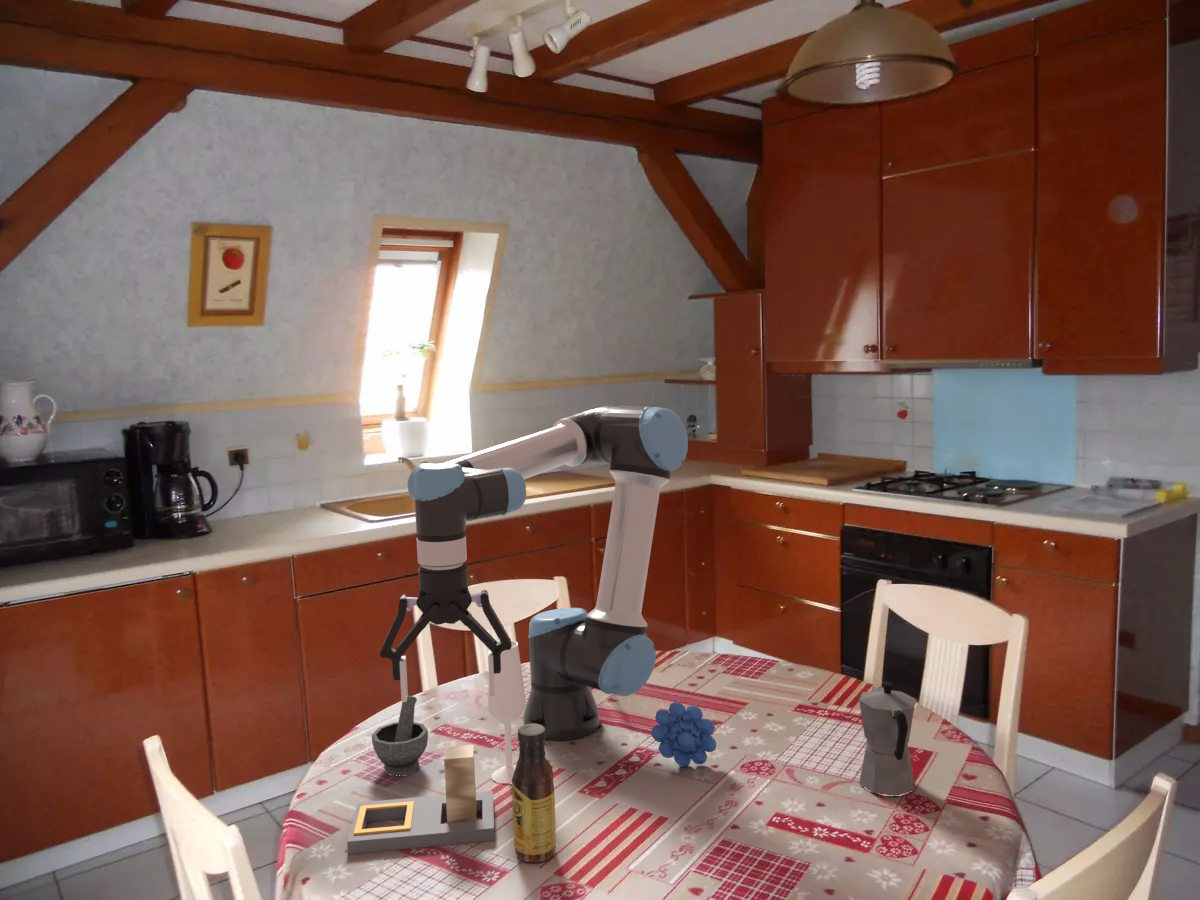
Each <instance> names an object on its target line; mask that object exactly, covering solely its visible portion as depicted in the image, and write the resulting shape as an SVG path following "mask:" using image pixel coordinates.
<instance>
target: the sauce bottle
mask: <svg viewBox="0 0 1200 900" xmlns="http://www.w3.org/2000/svg"><path fill="white" fill-rule="evenodd" d="M545 737H546V735H545V728H544V726H542V725H539V724H526V725H524V724H523V725H522V726H520V727H518V730H517V740H518V741H519V742H518V743H519V745H518V746H519V753H518V760H517V763H516V765H515V766H516V768H515V771H514V775H513V778H512V785H511V795H512V818H513V819H512V821H513V822H512V824H513V846H514V850H515V854H516V856H517V857H518V859H519V860H520V861H522V862H525V863H533V864H534V863H542V862H545V861H547V860H549V859H551V858H552V857H553V856H554V853H555V850H556V841H557V837H556V836H557V835H556V834H557V833H556V805H555V804H556V799H555V796H556V795H555V785H554V771H553V767H552V765H551V763H550V762H549V760H548V759H547V758H546V751H545V748H546V747H545V740H546V739H545Z"/></svg>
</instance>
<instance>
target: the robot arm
mask: <svg viewBox="0 0 1200 900" xmlns="http://www.w3.org/2000/svg"><path fill="white" fill-rule="evenodd" d="M688 439H689V438H688V434H687V430H686V427H685V425H684V423H683V421H682V419H681V417H680V416H679V415H678V413H676V412H675V411H673V410H671V409H669V408H666V407H665V408H664V407H659V406H653V405H648V406H646V405H645V406H643V405H642V406H641V405H639V406H638V405H616V404H615V405H614V404H613V405H612V404H611V405H604V406H598V407H595V408H592V409H588V410H585V411H582V412H578V413H575V414H573V415H570V416H566V417H564V418H561V419H559V420H557V421H555V423H554V424H553V425H552V427H551V428H550V427H549V428H547V429H544V430H540V431H538V432H535V433H532V434H529V435H526V436H525V435H524V436H523V437H519V438H517V439H514V440H509V441H507V442H504V443H501V444H497V445H494V446H492V447H489V448H486V449H483V450H479V451H477V452H473V453H470V454H467V455H464V456H461V457H458V458H454V459H451V460H448V461H444V462H442V463H437V462H425V463H420V464H418V465H416V466H415V467H414V468H413V469H412V470H411V472H410V473H409V476H408V479H407V491H408V494H409V496H410V498H411V500H412V501H413V502H414V511H415V512H414V513H415V527H416V550H417V551H416V553H417V563H418V564H419V565H420V566H419V567H418V569H417V573H418V574H417V575H418V590H419V591H418V595H417V596H415V597H413V596H412V597H410V596H408V595H407V594H402V595H401V596H400V597H399V601H398V607H397V608H398V610H397V614H396V615H395V617H394V620H393V622H392V624H391V627H390V629H389V631H388V633H387V635H386V637H385V640H384V642H383V644H382V647H381V649H380V651H379V656H380V658H382V659H385V658H386V659H389V660H390V661H391V664H392V678H393V680H394V681H400V697H401V698H400V699H401V700H400V701H401V703H402V702H407V697H408V696H409V695H408V694H409V691H408V689H409V688H408V670H407V669H408V667H407V655H404V654H405V653H406V652H407V650H408V649H409V647H411V645H412V644H413V643H414V642H415V640H416V639H417V638H418V637H419V635H420V634H421V633H422V631H423V630H425V628H426V627H427V626H428V625H429V623H432V624H434V625H435V626H437V625H438V626H439V625H443V624H449V625H453V624H454V625H455V624H456V623H457V622H461V623H462V624H463V625H464V626H465V627H467V628H468V629H469V631H470V632H471V633H473V635H475V636H476V637H477V638H478V640H480V642H481V643H483V644H484V646H486V648H487V649H488V650H487V658H488V659H487V660H488V662H487V663H488V687H489V690H490V696H495V694H494V674H496V673H500V671H501V658H500V655H501V653H502V652H503V651H505V650H510V649H511V646H512V645H511V640H512V639H511V637H510V636H509V634H508V632H507V631H506V629H505V627H504V625H503V624H502V622H501V620H500V618H499V617H498V615H497V613H496V612H495V609H494V608H493V606H492V604H491V602H490V596H489V592H488V590H485V589H483V590H481V591H480V592H478V593H470V589H469V579H468V578H469V576H468V565H467V564H466V563H465V562H466V561H467V558H468V556H467V550H468V549H467V533H466V532H467V530H466V529H467V522H471V521H476V520H481V519H487V518H493V517H498V516H505V515H508V514H511V513H514V512H517V511H519V510H520V509H521V508H522V507H523V505H524V504H525V503H526V499H527V485H526V482H525V480H526V479H529V478H532V477H535V476H537V475H540V474H543V473H545V472H549V471H552V470H554V469H556V468H559V467H563V466H567V467H571V468H573V467H574V468H575V467H577V466H580V465H583V464H606V465H607V464H609V474H610V475H611V476H612V478H613V480H614V481H615V485H614V491H613V492H614V493H613V497H612V504H611V508H610V509H611V510H610V514H609V515H610V517H609V523H608V529H607V536H606V540H605V541H606V542H605V548H604V555H603V561H602V568H601V574H600V580H599V585H598V594H597V598H596V599H597V600H596V605H595V607H594V609H592V610H591V611H589V612H588V611H587V610H586V609H584V608H581V607H564V608H556V609H550V610H546V611H542V612H539V613H537V614H536V615H535V614H534V616H533V617H531V619H530V622H529V624H528V625H529V626H528V627H529V628H528V650H529V655H528V656H529V667H530V669H529V672H530V673H529V674H530V691H529V695H528V698H527V700H526V707H525V709H524V711H523V716H522V717H523V718H522V719H523V720H522V721H523V725H526V724H539V725H542V726H544V728H545V735H546V737H545V740H548V741H567V740H575V739H579V738H583V737H585V736H588V735H589V734H591V733H594V732H596V730H597V729H598V728H599V726H600V713H599V712H600V711H599V708H598V706H597V702H596V700H595V698H594V693H593V691H592V689H591V688H593V689H595V690H598V691H601V692H602V693H604V694H608V695H614V696H619V697H628V696H632V695H634V694H635V693H638V692H639V691H640V690H641V689H642V688H643V686H644V685H645V684H647V682H648V680H649V679H650V678H651V675H652V673H653V671H654V668H655V665H656V658H657V651H656V648H655V645H654V642H653V641H652V639H650V637H648V636H647V629H648V623H647V621H646V620H645V619H644V617H643V615H642V609H643V603H644V597H645V596H644V595H645V590H646V583H647V578H648V570H649V565H650V557H651V551H652V544H653V537H654V531H655V525H656V518H657V512H658V505H659V500H660V493H661V489H662V488H663V487H664V486H665V485H667V484H668V483H669V482H670V480H671V474H672V471H674V470H677V469H678V468H680V467H681V466H682V463H683V462H685V460H686V457H687V453H688V447H689V443H688V442H689V440H688ZM472 603H475V604H476V606H477V607H478V608H482V611H483V614H484V615H485V617H486V619H487V621H488V622H489V624H490V626H491V627H492V629H493V631H494V633H495V635H496V636H497V638H498V640H496V639H495V638H494V637H493V636H492V635H491V633H489V632H488V631H487V630H486V629H485V627H483V625H481V624H480V622H479V621H478V620H477V619H476V618H475V617H474V616H473V615H472V613H471V612H470V611H469V610H468V609H469V607H470V605H471V604H472ZM414 606H417V608H418V609H419V611H420V612H421V613H422V614H421V615H420V616H419V617H418V619H417V621H416V622H415V623H414V624H413V626H411V628H410V629H409V630H408V632H407V634H405V636H404V637H403V638H402V639H401V640H400V642H399V643H398V645H397V646H396V647H395V648H392V646H393V644H394V642H395V639H396V638H397V635H398V633H399V631H400V629H401V627H402V625H403V623H404V620H405V618H406V615H407V612H411V611H412V610H413V607H414ZM497 641H500V642H497Z"/></svg>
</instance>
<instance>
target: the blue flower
mask: <svg viewBox="0 0 1200 900" xmlns="http://www.w3.org/2000/svg"><path fill="white" fill-rule="evenodd" d="M703 715H704V714H703V711H702V710H701V708H699V706H697V705H693V704H692V705H689V706H687V707H685V706H684V705H683V704H682V702H678V701H673V702H672V703H670V704H669V708H668V710H666V709H660V710H658V711H656V713H655V717H654V719H655V721H656V723H657V724H656V725H654V726H652V728H651V732H650V734H651V737H652V738H653V739H654V741H656V742H657V743H659V745H658V752H659V754H660V755H661V756H662V757H663V758H666V759H671V758H673V759H674V762H675V763H676V764H677V765H678V766H679V767H682V768H684V767H685V768H686V767H688V766H689V765H690V764H691V760H692V761H693V763H694V764H697V765H703V764H705V763H706V762H707V759H708V755H707V753H713V752H714V751H715V750H716V749H717V741H716V740H715V737H713V736H712V735H713V734H714V733H715V730H716V729H715V728H716V726H715V724H714V722H713V721H712V720H711V719H708V718H707V717H706V718H704V717H703Z"/></svg>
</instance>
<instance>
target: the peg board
mask: <svg viewBox="0 0 1200 900" xmlns="http://www.w3.org/2000/svg"><path fill="white" fill-rule="evenodd" d="M476 811H477V813H478V812H479V813H480V812H481V813H482V817H481V818H482V819H479V820H478V819H477V821H467V822H456V823H443V817H444V816H445V815H446V816H447V807H446V794H441V795H440V794H439V795H431V796H430V795H428V796H418V797H417V796H416V797H408V798H407V797H406V798H395V799H385V800H373V801H372V800H371V801H360V802H357V803H356V807H355V811H354V814H353V819H352V823H351V825H350V830H349V834H348V837H347V841H346V845H347V854H348V855H353V854H361V853H362V854H363V853H374V852H375V853H376V852H385V851H395V850H396V851H397V850H405V849H418V848H419V849H420V848H426V847H427V848H429V847H438V846H452V845H459V844H460V845H461V844H472V843H479V842H480V843H483V842H491V841H492V842H493V841H496V840H495V814H494V813H495V812H494V791H493V790H489V791H487V790H486V791H476ZM400 819H401V820H403V819H404V824H403V825H395V826H394V825H393V826H383V827H382V826H381V827H372V828H366V827H367V823H368V822H378V821H392V820H400Z"/></svg>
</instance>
